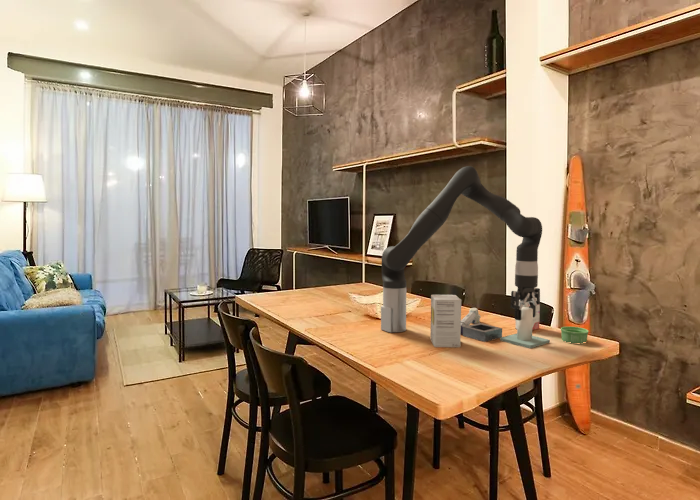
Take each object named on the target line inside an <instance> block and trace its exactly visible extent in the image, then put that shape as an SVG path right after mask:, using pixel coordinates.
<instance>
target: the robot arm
mask: <svg viewBox="0 0 700 500" xmlns="http://www.w3.org/2000/svg"><path fill="white" fill-rule="evenodd" d="M461 195H462V196H464V197H466V198H468V199H469V200H471V201H473V202H476V203H477V204H479V205H481V206H483V207H484V208H485V209H486V210H488V211H490V212H491V213H492V214H493V215H495V216H496V217H497V218H499V219H500V220H501V221H502V222H503V223H505V225H506V226H507V227H508V228H509V230H510V231H511V232H512V233H513V234H515V235H516V236H518V237H520V238H522V240H521V243H520V244H517V246H516V250H515V251H516V255H515V256H516V258H515V265H514V266H515V269H514V286H515V287H516V288H517V290H512V291H511V293H510V294H511V295H510V308H511V309H514V320H515V321H516V320H521V314H522V310H521V309H522V307H523V305H525V303H526V302H528V303H529V305H530V306H529V308H532V309H533V317H535V314H536V307H537V305H538V304H540V305H541V290H540V288H538V278H539V277H538V276H539V264H538V259H539V258H538V254H539V251H538V250H539V245H540V243H541V239H542V236H543V235H542V234H543V224H542V222H541V220H540V219H538V218H537V217H534V216H533V217H532V216H524V215H523V214H521V209H520V208H519V207H518V206H517V205H516V204H514V203H513V202H511V201H510V200H509V199H507V198H506V197H503V196H501V195H498V194H495V193H493V192H491V191H489V190H488V189H487V188H486V187H485V186H484V185H483V184H482V183H481V178H480V176H479V173H478V171H477V169H476V168H475V167H474V166H472V165H467V166H463V167H461V168H460V169H458V170H457V171H456V172H454V175H453V176H452V178H450V180H449V181H448V183H447V184H446V186H445V187H443V189H442V190H441V191H440V192H439V194H437V196H436V197H435V198H434V199H433V201H431V202H430V204H428V206H427V207H426V208H425V209H424V210H422V212H421V213H420V214H419V215H418V217H416V219H415V220H414V222H413V224H412V226H411V228H410V229H409V230H408V233H407V234H406V235H405V236H404V237H403V238H402V239H401V240H400V241H399V242H398V243H397V244H396V245H395V246H394V245H392V246H391V245H390V246H388V247H386V248H385V249H384V251H383V252H382V255H381V279H382V305H381V306H380V330H382V331H385V332H388V333H402V332H405V331H407V279H406V276H405V268H406V266H408V264H409V263H410V262H411V260H412V259H413V258H414V256H415V255H416V254H417V252H418V251H419V250H420V248H421V247H422V246H424V244H425V243H427V242H428V241H429V239H431V238H432V237H433V236H434V234H435V233H436V232H437V231H438V230H440V228H441V227H442V226H443V225H444V224H445V223H446V222H447V220H448V218H449V216H450V214H451V212H452V210H453V207H454V204H455V203H456V202H457V200H458V198H459V197H460V196H461ZM536 298H537V301H536ZM519 300H520V301H519ZM519 304H520V305H519Z"/></svg>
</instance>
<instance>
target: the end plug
mask: <svg viewBox="0 0 700 500" xmlns="http://www.w3.org/2000/svg"><path fill="white" fill-rule="evenodd" d="M521 310H522V314H521V320H518V323H517V329H516V333H517V339H519V340H524V341H530V340H532V336H533V330H532V324H533V309H532V308H528V307H522V309H521Z"/></svg>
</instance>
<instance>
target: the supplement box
mask: <svg viewBox="0 0 700 500" xmlns="http://www.w3.org/2000/svg"><path fill="white" fill-rule="evenodd" d="M461 320H462V299H461V298H459V297H458V296H457V295H456V294H431V295H430V342H431V343H432V346H433V347H434V348H461V342H462V341H461V338H462V337H461V335H462V334H461Z"/></svg>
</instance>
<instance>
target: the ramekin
mask: <svg viewBox="0 0 700 500" xmlns="http://www.w3.org/2000/svg"><path fill="white" fill-rule="evenodd" d="M560 331H561V334H560V335H561V341H563V342H564V341H566V342H565V343H567V342H571V343H570V344H572V343H583V342H586V341H587V342H588V336H589V329H586V328H584V327H579V326H569V325H568V326H567V325H566V326H562V327H561V328H560ZM587 342H586V343H587Z"/></svg>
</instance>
